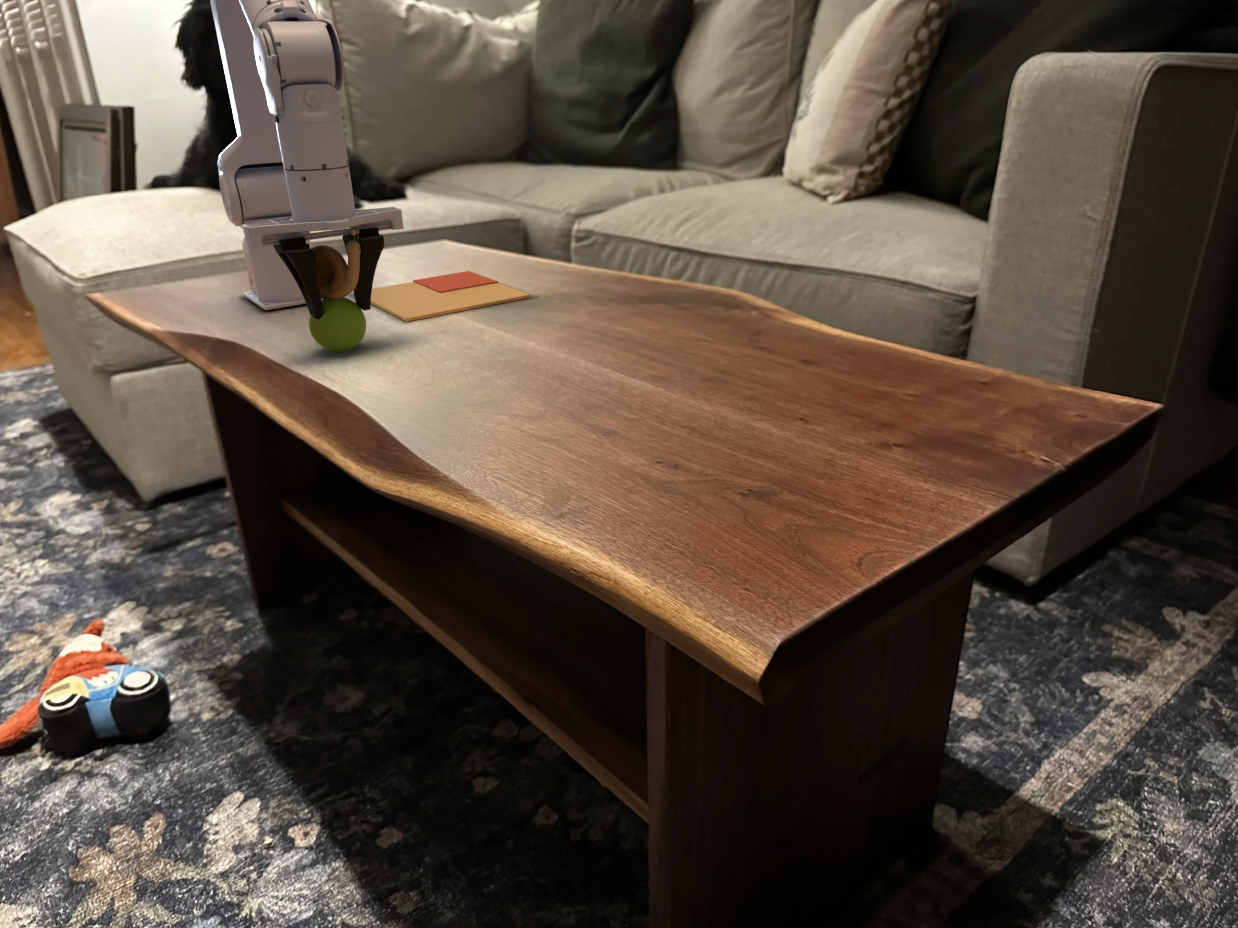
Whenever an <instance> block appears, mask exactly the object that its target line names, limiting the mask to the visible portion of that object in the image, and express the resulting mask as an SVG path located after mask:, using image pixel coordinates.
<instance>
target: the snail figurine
mask: <svg viewBox="0 0 1238 928" xmlns="http://www.w3.org/2000/svg"><path fill="white" fill-rule="evenodd" d="M359 232H360V231H359V229H358V228H355V229H352V230H351V234H352V235H354V239H355V235H356V234H357V236H358V233H359ZM311 249H313V250H314V251H316V266H317V279H318V287H319V292H320V296H321V298H322V300H321V301H322V305H323V312H324V315H323V316H322V317H321V318H320V319H315V318H314V317H313V316H312V315H310V314H309V316H308V329H309V332H310V335H311V337H312V338H313V340H314V341H315V342H316V343H317V344H318V345H319V346H320V347H322V348H324V349H326V350H328V351H332V352H341V353H342V352H346V351H347V352H348V351H350V350H353V349H354V348H356V347H357V346H358V345H360V343H361V342H362V340H363V339H364V337H365V334H366V332H367V319H366V315H365V314H364V310H362V309H361V308H360V307H359V306H358V305H357V304H356V302H355V301H353V300H352V299H350V298H348V296H349V295H351V294H353V292H354V289H355V288H356V285H357V282H358V278H359V270H360V253H361V245H360V244H359V237H358V242H357V241H349V242H348V243H347V245H346V248H345V252H346V251H347V252H346V254H347V253H348V256H347V261H346V259H345V258H344V256H343V255H342V254H341V253H340V251H338V250H337V249H335V248H334V247H332V246H329V245H322V244H321V245H320V244H319V245H315V246H314V247H311Z"/></svg>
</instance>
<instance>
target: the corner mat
mask: <svg viewBox="0 0 1238 928" xmlns="http://www.w3.org/2000/svg"><path fill="white" fill-rule="evenodd" d="M352 294H353V296H354V291H353V292H352ZM530 298H531V294H530V293H527V292H524V291H521V290H519V289H516V288H512V287H510V286H507V285H505V284H502V283H499V282H498V281H497V280H495V279H492V278H490V277H487V276H484V275H481V274H478V273H476V272H472V271H469V270H466V271H459V272H454V273H449V274H448V273H447V274H442V275H436V276H430V277H424V278H419V279H413V280H412V281H409V282H404V283H398V284H393V285H387V286H386V285H385V286H380V287H374V288H372V293H371V305H373V306H374V307H376V308H378V309H380V310H382V311H384V312H386V313H388V314H390V315H392V316H394V317H396V318H397V319H400V320H402V321H404V322H413V321H417V320H422V319H427V318H433V317H438V316H443V315H449V314H454V313H458V312H463V311H470V310H473V309H479V308H485V307H489V306H495V305H500V304H506V303H510V302H515V301H521V300H526V299H530Z"/></svg>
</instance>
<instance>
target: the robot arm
mask: <svg viewBox="0 0 1238 928" xmlns="http://www.w3.org/2000/svg"><path fill="white" fill-rule="evenodd" d="M209 2H210V6H211V12H212V16H213V17H212V18H213V22H214V27H215V31H216V37H217V41H218V46H219V51H220V56H221V61H222V65H223V71H224V75H225V80H226V85H227V91H228V95H229V100H230V105H231V109H232V110H231V111H232V115H233V120H234V125H235V130H236V134H237V137H236V138H235V139H234V140H233V141H232V142H231V143H230V144H228V146H226V147H225V149H223V150H222V152H220V154H219V155H218V159H217V162H216V165H217V170H218V176H219V177H218V180H219V181H218V182H219V190H220V194H221V196H220V197H221V199H222V203H223V208H224V211H225V214H226V217H227V219H228V221H229V222H230V223H232V224H233V225H234V226H235V227H239V228H241V229H242V230H243V237H242V243H241V247H242V252H243V256H244V257H243V258H244V262H245V266H246V267H245V268H246V271H247V276H248V282H249V287H250V290H249V291H244V292H243V297H245V298H246V299H248V300H249V301H250V302H253V303H254V304H255V305H256V306H258V307H259V308H261V309H262V310H264V311H270V310H277V309H283V308H289V307H294V306H299V305H305V304H306V307H307V309H308V312H309V313H308V314H309V316H310V315H312V316H313V317H314V318H315V319H320V318H321V317H322V316H323V315H324V312H323V305H322V301H321V300H322V298H321V296H320V292H319V287H318V279H317V266H316V251H314V250H313V249H312V244H311V241H312V240H320V239H327V238H334V237H341V238H342V241H343V242H342V243H343V245H344V248H345V249H346V245H347V243H348V242H349V241H357V242H358V237H359V244H360V245H361V253H360V270H359V278H358V282H357V285H356V288H355V289H354V291H353V292H354V295H353V297H354V302H355V303H356V304H357V305H358V306H359V307H360V308H361V310H362V311H363V312H364V311H371V309H372V306H371V305H372V304H371V293H372V289H373V283H374V279H375V274H376V270H377V267H378V264H379V260H380V257H381V255H382V252H383V250H384V248H385V237H384V234H380V232H381V231H386V230H392V231H397V230H404V221H403V214H402V212H403V211H402V209H401V208H399V207H395V206H387V207H377V208H376V207H375V208H361V209H356V205H355V198H354V193H353V185H352V178H351V171H350V163H349V158H348V150H347V144H346V137H345V130H344V122H343V116H342V109H341V104H340V95H339V92H340V91H341V90H342V88H343V85H344V76H345V74H344V72H345V71H344V70H345V69H344V60H343V59H344V58H343V53H342V48H341V42H340V39H339V36H338V33H337V30H336V29H335V25H334V23H333V22H332V21H331V19H329V18H325V17H324V16H323V14H316V13H315V12H314V9H313V7H312V5H311V3H310V0H210V1H209ZM271 163H272V164H273V163H274V164H276V163H282V165H278V166H277V165H276V166H264V167H252V168H251V167H250V168H242V167H243V166H249V165H262V164H271ZM240 168H241V169H240ZM355 228H358V229H359V231H360V232H359V233H358V236H357V234H356V235H355V239H354V235H352V234H351V230H352V229H355ZM345 252H346V256H347V257H348V253H347V251H346V250H345Z"/></svg>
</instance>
